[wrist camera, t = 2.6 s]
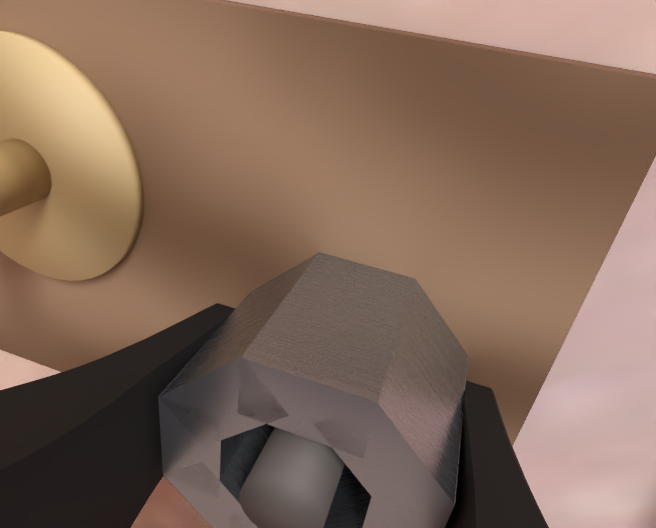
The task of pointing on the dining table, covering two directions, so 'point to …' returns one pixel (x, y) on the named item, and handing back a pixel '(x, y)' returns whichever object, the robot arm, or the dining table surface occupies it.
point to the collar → (324, 396)
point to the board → (301, 186)
